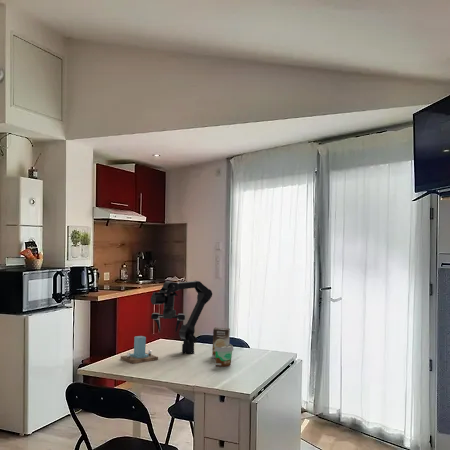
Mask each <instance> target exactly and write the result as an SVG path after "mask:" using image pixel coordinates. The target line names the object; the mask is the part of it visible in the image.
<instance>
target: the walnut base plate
mask: <svg viewBox="0 0 450 450" xmlns="http://www.w3.org/2000/svg"><path fill="white" fill-rule="evenodd" d="M145 354H148V352H145ZM120 360H122V361H124V362H127V363H130V364H137V363H144V362H146V363H147V362H151V361H152V362H153V361H158V360H159V357H158V356H156V355H153V354H151V356H148V357H145V358H138V359H137V358H134V357H131V356H130V358H127V354H126V355H121V356H120Z"/></svg>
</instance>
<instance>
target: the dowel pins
mask: <svg viewBox="0 0 450 450" xmlns="http://www.w3.org/2000/svg"><path fill="white" fill-rule="evenodd" d="M147 353H148V355H149V356H151V355H152V350H148V352H147ZM130 354H131V352H127V354H126V355H127V358H130Z"/></svg>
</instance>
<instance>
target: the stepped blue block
mask: <svg viewBox="0 0 450 450" xmlns="http://www.w3.org/2000/svg"><path fill="white" fill-rule="evenodd" d="M133 338H134V340H133V341H134V342H133V353H130V356H131V357H134V358H137V359H138V358H145V357H148V356H149V355H148V354H145V353H146V347H147V345H146V344H147V337H146V336H144V335H137V336H134V337H133Z"/></svg>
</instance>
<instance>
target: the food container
mask: <svg viewBox="0 0 450 450" xmlns="http://www.w3.org/2000/svg"><path fill="white" fill-rule="evenodd" d="M234 350H235V349H234V346H233V345H232V344H231V343H229V344H228V346H222V347H215V353H216V358H215V367H219V368H227V367H231V366H230V365H232V357H233V356H232V355H233V351H234Z"/></svg>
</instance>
